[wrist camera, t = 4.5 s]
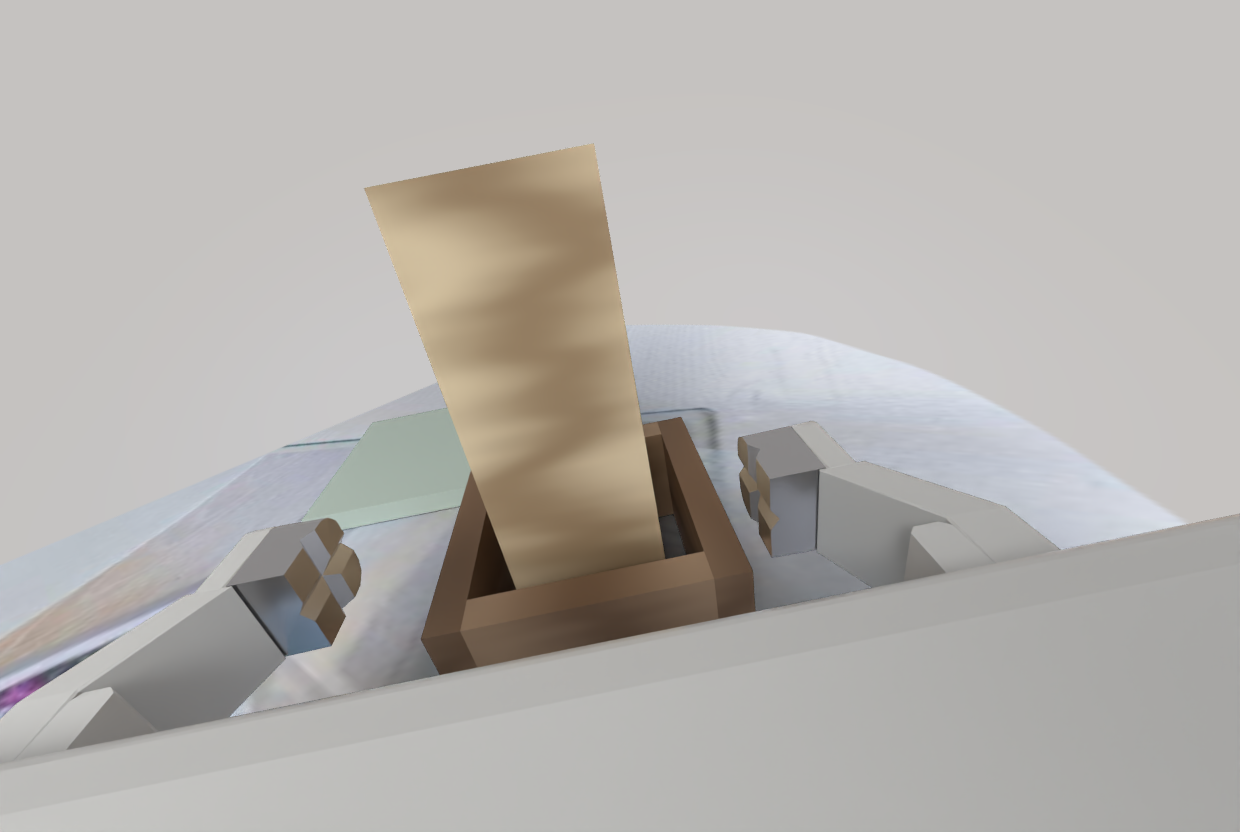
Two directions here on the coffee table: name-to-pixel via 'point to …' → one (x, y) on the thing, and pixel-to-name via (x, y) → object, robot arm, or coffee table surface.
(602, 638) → the pocket
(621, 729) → the robot arm
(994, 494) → the coffee table surface
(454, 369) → the oak block
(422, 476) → the pad
